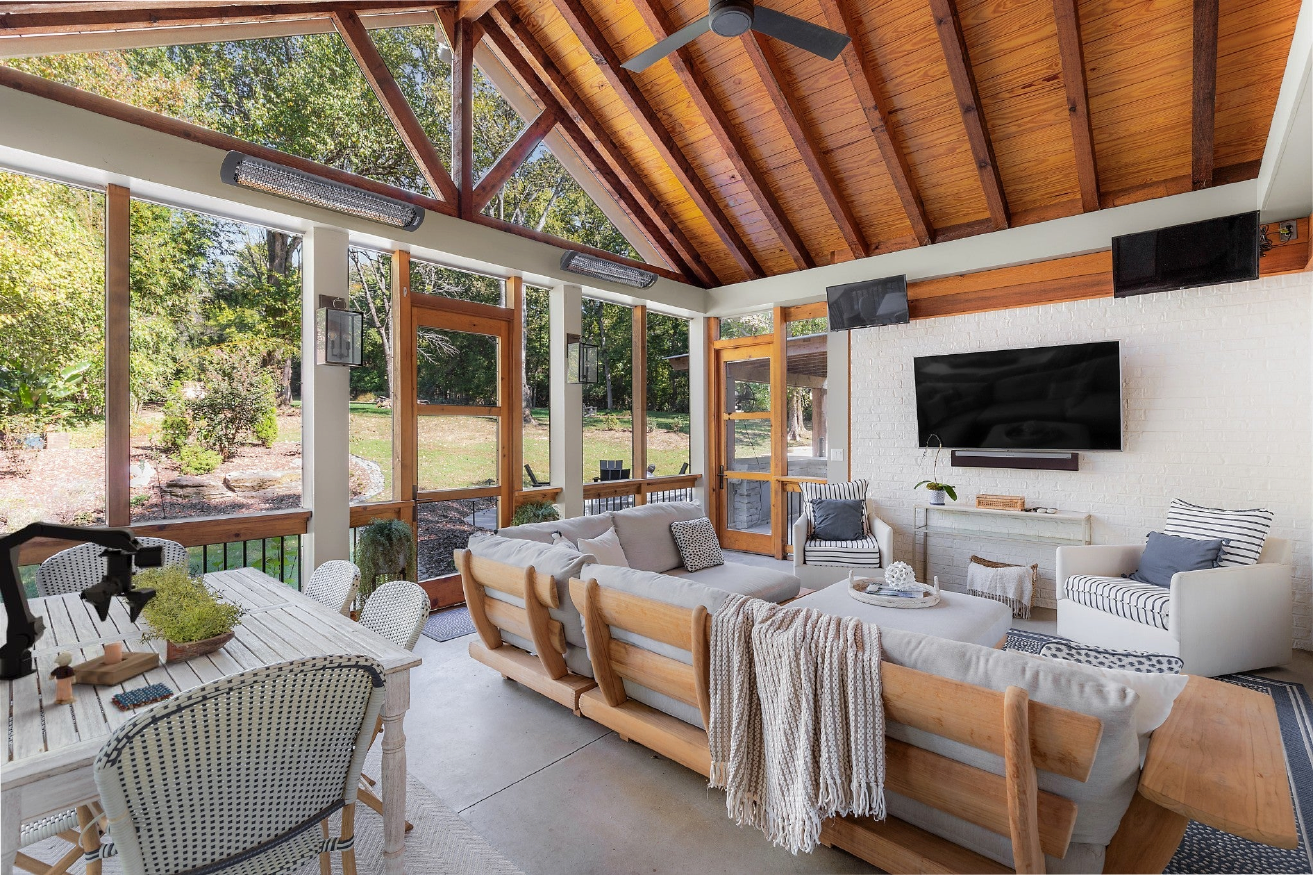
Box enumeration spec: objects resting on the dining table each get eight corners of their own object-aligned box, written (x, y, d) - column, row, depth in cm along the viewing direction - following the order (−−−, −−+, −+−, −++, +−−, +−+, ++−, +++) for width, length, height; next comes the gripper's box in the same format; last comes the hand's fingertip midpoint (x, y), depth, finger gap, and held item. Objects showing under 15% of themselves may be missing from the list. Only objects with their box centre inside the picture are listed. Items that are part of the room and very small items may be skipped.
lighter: (197, 654, 184) (198, 622, 184) (200, 657, 182) (201, 625, 182) (164, 661, 178) (165, 628, 178) (167, 664, 176) (168, 631, 176)
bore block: (64, 684, 160) (64, 669, 160) (113, 664, 174) (113, 651, 174) (113, 686, 160) (113, 671, 160) (158, 666, 174) (159, 653, 174)
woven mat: (109, 702, 152) (109, 694, 152) (161, 688, 161) (161, 681, 161) (121, 714, 146) (122, 705, 146) (174, 699, 155) (175, 691, 155)
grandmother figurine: (85, 698, 153) (87, 649, 153) (71, 705, 149) (72, 655, 149) (55, 697, 152) (56, 649, 152) (39, 704, 149) (41, 654, 149)
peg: (112, 670, 169) (112, 642, 169) (124, 670, 169) (125, 642, 169) (100, 675, 165) (100, 647, 165) (113, 675, 165) (113, 647, 165)
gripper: (61, 575, 169) (60, 629, 169) (124, 577, 168) (122, 632, 168) (99, 566, 180) (98, 617, 180) (158, 569, 179) (157, 620, 179)
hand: (118, 622), depth 177 cm, fingers open, 9 cm apart
